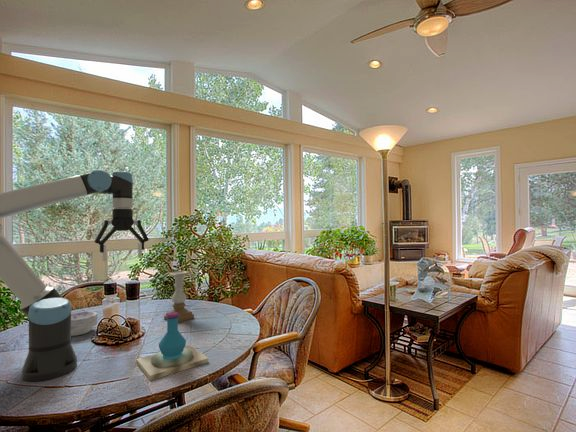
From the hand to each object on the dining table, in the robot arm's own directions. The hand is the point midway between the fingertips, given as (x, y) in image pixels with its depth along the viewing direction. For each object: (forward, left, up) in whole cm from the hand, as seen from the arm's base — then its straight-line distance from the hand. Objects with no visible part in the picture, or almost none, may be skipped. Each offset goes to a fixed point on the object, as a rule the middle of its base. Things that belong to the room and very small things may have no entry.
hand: (122, 259), depth 135 cm
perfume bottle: (+9, -33, -32) cm, 47 cm away
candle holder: (+30, +16, -35) cm, 49 cm away
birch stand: (+9, -33, -35) cm, 49 cm away
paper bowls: (-13, +26, -35) cm, 45 cm away
